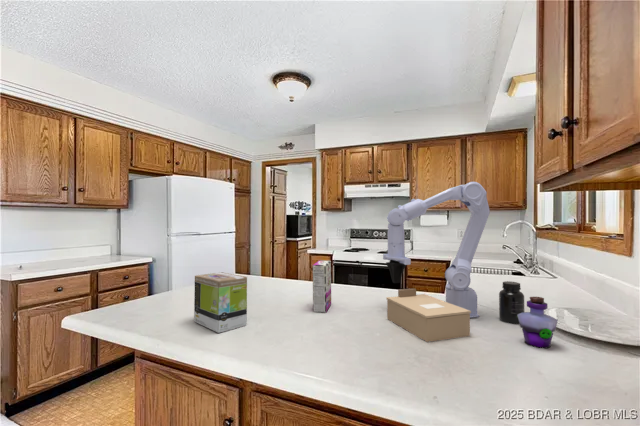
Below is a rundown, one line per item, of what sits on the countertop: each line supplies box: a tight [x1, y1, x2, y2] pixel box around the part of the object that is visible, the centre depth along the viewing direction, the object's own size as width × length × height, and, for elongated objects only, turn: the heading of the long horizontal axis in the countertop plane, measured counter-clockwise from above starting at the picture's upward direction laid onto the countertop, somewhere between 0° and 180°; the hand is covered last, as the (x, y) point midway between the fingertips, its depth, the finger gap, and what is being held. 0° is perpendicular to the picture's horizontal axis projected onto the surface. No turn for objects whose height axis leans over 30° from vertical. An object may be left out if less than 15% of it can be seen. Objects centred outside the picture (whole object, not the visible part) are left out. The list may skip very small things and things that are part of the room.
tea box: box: [193, 271, 248, 334], centre depth 97 cm, size 15×10×15 cm, turn 47°
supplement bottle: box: [498, 280, 525, 325], centre depth 99 cm, size 7×7×12 cm
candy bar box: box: [311, 260, 332, 314], centre depth 114 cm, size 11×5×16 cm, turn 168°
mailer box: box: [386, 299, 471, 343], centre depth 94 cm, size 14×20×6 cm
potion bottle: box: [517, 296, 559, 350], centre depth 81 cm, size 9×9×12 cm
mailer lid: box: [385, 288, 471, 318], centre depth 94 cm, size 14×20×3 cm
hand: (396, 282), depth 109 cm, fingers closed
